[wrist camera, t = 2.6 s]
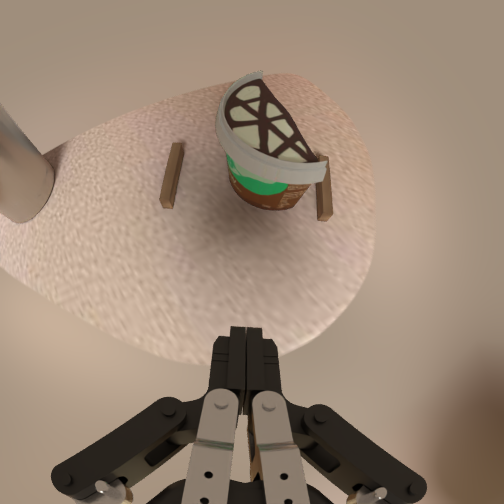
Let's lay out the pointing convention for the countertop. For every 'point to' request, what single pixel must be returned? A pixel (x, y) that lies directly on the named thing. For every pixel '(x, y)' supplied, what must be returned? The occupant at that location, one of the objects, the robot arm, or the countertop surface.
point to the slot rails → (174, 170)
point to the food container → (264, 147)
